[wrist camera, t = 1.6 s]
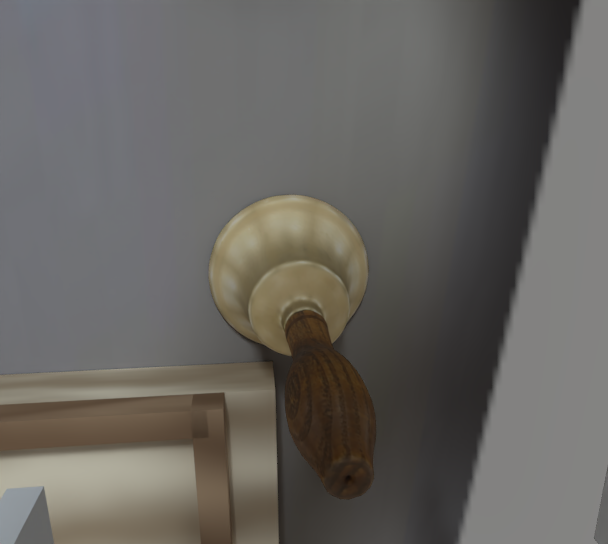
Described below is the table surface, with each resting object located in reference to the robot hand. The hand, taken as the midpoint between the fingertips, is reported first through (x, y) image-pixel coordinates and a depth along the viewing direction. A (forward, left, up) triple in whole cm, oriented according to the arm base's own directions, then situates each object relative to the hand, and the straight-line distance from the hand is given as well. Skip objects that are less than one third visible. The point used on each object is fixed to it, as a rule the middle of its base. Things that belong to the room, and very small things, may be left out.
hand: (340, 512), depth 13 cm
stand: (+12, -11, -17) cm, 23 cm away
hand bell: (0, 0, -17) cm, 17 cm away
